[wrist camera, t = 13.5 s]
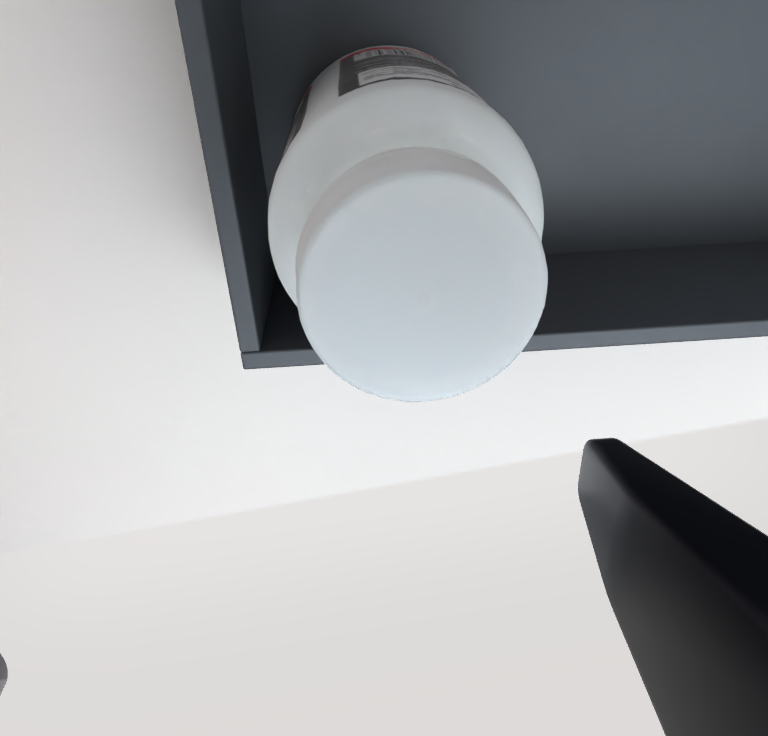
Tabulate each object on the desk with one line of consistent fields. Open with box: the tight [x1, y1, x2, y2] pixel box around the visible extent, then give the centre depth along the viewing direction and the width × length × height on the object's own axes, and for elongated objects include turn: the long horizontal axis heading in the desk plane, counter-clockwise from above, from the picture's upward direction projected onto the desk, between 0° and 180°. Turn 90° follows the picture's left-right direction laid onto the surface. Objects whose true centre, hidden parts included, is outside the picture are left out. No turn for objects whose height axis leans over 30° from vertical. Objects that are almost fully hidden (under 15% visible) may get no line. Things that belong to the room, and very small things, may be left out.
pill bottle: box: [268, 45, 548, 402], centre depth 14 cm, size 5×5×10 cm
